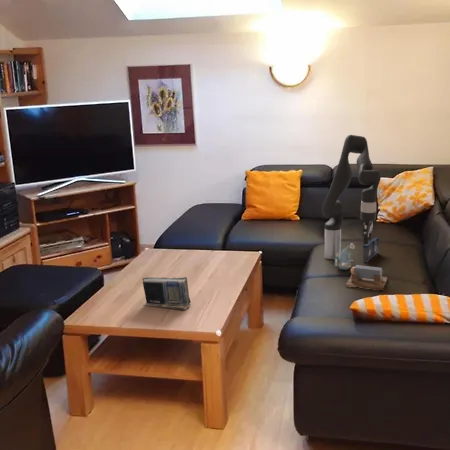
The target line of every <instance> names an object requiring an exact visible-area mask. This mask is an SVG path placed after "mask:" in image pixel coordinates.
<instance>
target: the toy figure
mask: <svg viewBox="0 0 450 450" xmlns="http://www.w3.org/2000/svg"><path fill="white" fill-rule="evenodd" d="M355 248H356V246H355V244H354V243H353V242H351V243H350V244H349V245H347V246H346V247H344V248H343V249H342V250H341V253H340V255H339V259H338V253H337V254H336V257H335V259H334V266H335V267H338V268H339V269H340V270H343V271H346V270H348V269H349V268H350V269H351V268H352V263H351V261H352V262H353V261H354V259H353V260H352V259H351V252H349V249H351V250H355Z"/></svg>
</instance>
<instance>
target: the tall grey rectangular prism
mask: <svg viewBox="0 0 450 450" xmlns="http://www.w3.org/2000/svg"><path fill="white" fill-rule="evenodd" d="M382 271H383V267H378V266H368V265H361V264H356V265H354V266H351V267H350V273H351V274H352V273H358V278H366V279H374V275H379V276H380V279H381V278H382V277H383V276H382Z"/></svg>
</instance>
